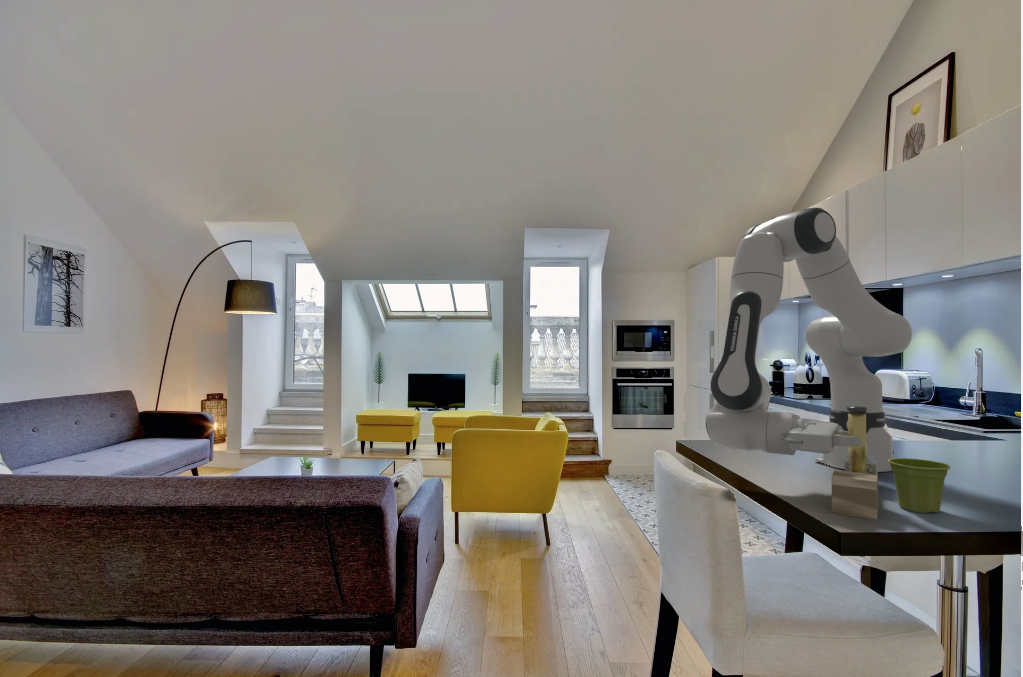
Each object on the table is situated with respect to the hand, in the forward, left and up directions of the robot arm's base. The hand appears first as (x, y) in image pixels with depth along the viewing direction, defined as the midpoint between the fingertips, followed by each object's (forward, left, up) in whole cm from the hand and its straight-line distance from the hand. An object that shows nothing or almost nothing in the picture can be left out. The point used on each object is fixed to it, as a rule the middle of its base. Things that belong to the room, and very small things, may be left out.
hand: (862, 439), depth 108 cm
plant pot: (+1, +9, -12) cm, 15 cm away
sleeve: (-12, -1, -12) cm, 17 cm away
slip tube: (-4, -1, -10) cm, 11 cm away
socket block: (+10, -1, -12) cm, 15 cm away
